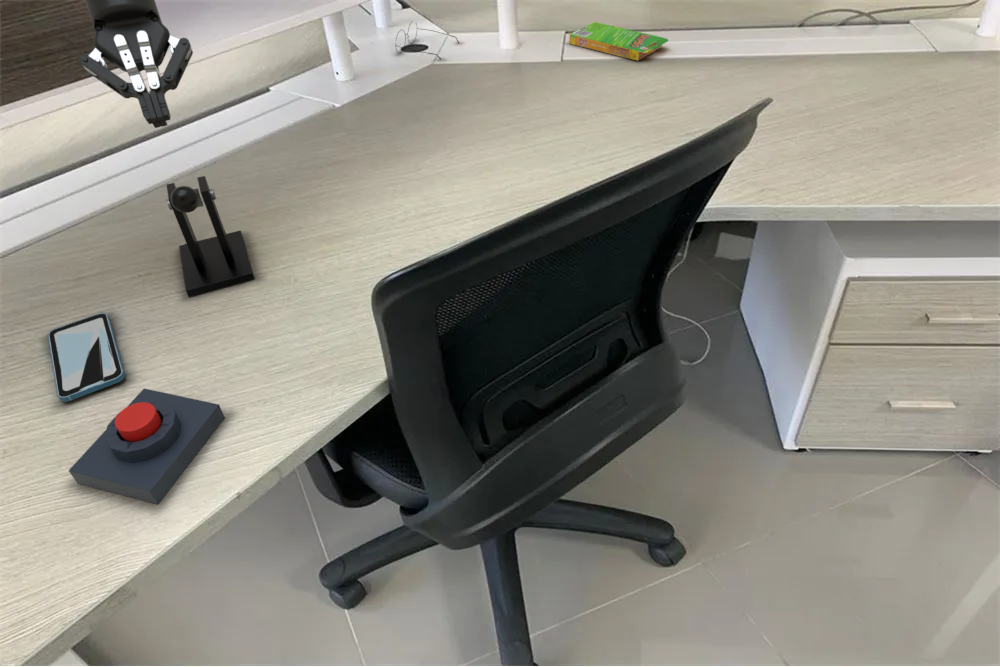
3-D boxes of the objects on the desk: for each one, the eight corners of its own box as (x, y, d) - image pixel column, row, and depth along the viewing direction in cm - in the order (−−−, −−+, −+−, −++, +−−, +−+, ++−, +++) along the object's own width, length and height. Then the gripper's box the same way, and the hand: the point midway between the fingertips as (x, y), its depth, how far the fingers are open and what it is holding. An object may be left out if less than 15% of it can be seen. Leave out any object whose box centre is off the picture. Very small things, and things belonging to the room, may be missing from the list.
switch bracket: (255, 279, 98) (227, 200, 90) (188, 297, 96) (153, 217, 88) (243, 236, 107) (216, 160, 98) (181, 252, 104) (149, 175, 96)
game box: (594, 34, 167) (669, 48, 155) (569, 47, 162) (645, 62, 150) (594, 21, 165) (670, 34, 153) (568, 33, 160) (645, 48, 148)
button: (145, 445, 72) (138, 434, 71) (113, 438, 73) (105, 427, 72) (169, 417, 75) (163, 406, 74) (138, 410, 76) (131, 399, 74)
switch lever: (202, 209, 84) (193, 182, 83) (174, 215, 83) (165, 189, 83) (208, 207, 96) (200, 184, 95) (184, 213, 95) (176, 190, 95)
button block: (158, 504, 71) (142, 480, 68) (77, 483, 73) (59, 459, 70) (225, 417, 79) (213, 393, 76) (151, 401, 82) (137, 377, 79)
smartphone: (106, 310, 93) (124, 375, 83) (109, 316, 94) (128, 381, 84) (46, 331, 91) (57, 400, 81) (50, 336, 91) (61, 406, 81)
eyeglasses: (461, 42, 165) (459, 19, 162) (439, 61, 156) (437, 38, 153) (418, 38, 168) (415, 16, 165) (394, 57, 160) (391, 34, 156)
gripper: (45, -21, 79) (91, 124, 79) (167, -39, 83) (212, 99, 83) (68, 15, 87) (110, 147, 86) (179, -3, 90) (220, 124, 90)
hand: (160, 124), depth 84 cm, fingers closed
